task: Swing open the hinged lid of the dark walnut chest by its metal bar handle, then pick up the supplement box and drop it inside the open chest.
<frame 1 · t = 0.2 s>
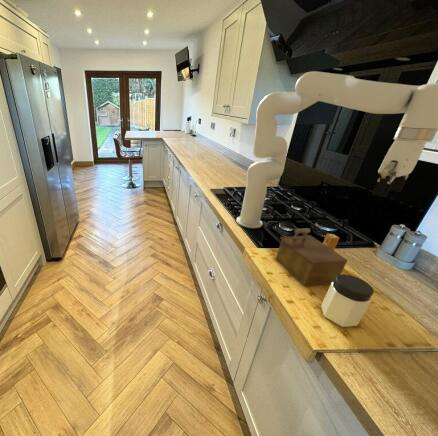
hand: (385, 193, 72), 31 cm above the worktop, tool pointing down, fingers open, 9 cm apart
jar: (337, 315, 69), on the worktop
lid: (313, 243, 83), point 11 cm above the worktop, hinge at 0.0°
chest: (304, 269, 87), on the worktop
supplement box: (323, 257, 95), on the worktop
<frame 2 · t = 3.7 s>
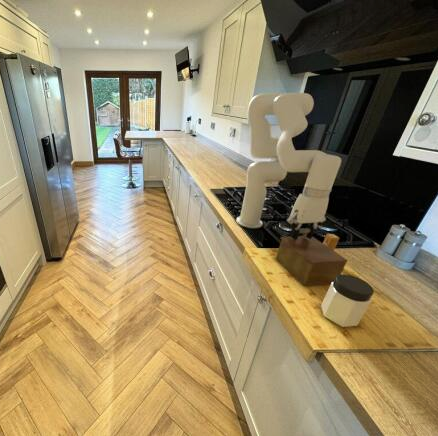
hand: (300, 236, 88), 11 cm above the worktop, tool pointing down, fingers closed on lid, 5 cm apart
lid: (313, 243, 83), point 11 cm above the worktop, hinge at 0.0°, touching gripper
everything else where it was.
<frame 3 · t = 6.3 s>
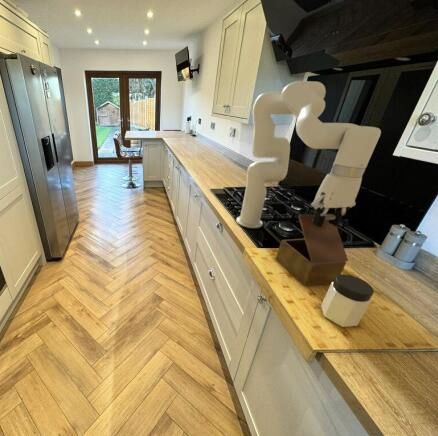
hand: (325, 224, 78), 20 cm above the worktop, tool pointing down, fingers closed on lid, 5 cm apart
lid: (327, 236, 77), point 17 cm above the worktop, hinge at 46.3°, touching gripper
everything else where it was.
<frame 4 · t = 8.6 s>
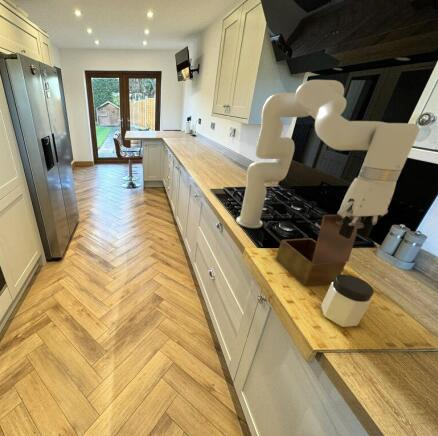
hand: (353, 235, 68), 21 cm above the worktop, tool pointing down, fingers closed on lid, 5 cm apart
lid: (342, 242, 72), point 18 cm above the worktop, hinge at 82.3°, touching gripper
everything else where it was.
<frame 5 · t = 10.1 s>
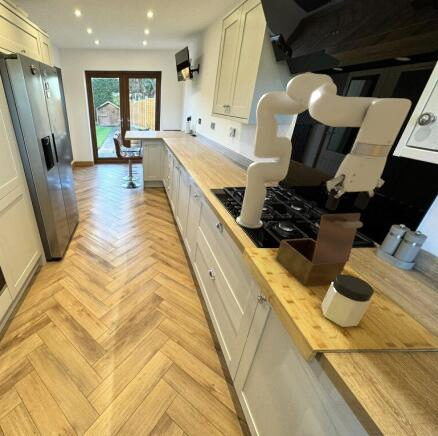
hand: (344, 208, 71), 28 cm above the worktop, tool pointing down, fingers open, 9 cm apart
lid: (342, 241, 72), point 18 cm above the worktop, hinge at 80.5°
everything else where it was.
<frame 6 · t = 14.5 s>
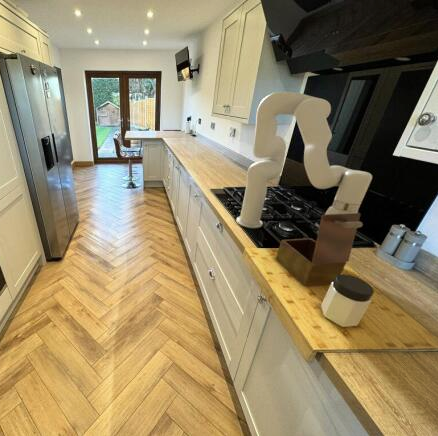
hand: (328, 247, 93), 5 cm above the worktop, tool pointing down, fingers closed on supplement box, 3 cm apart
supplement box: (323, 257, 95), on the worktop, touching gripper
everything else where it was.
when the fingers open (8 cm above the worktop, at t = 21.4 s): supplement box drops 3 cm, resting on chest.
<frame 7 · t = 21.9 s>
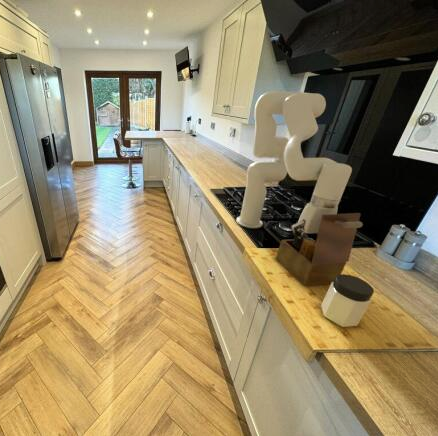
hand: (307, 245, 85), 9 cm above the worktop, tool pointing down, fingers open, 8 cm apart
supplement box: (301, 264, 89), point 1 cm above the worktop, touching chest
everything else where it was.
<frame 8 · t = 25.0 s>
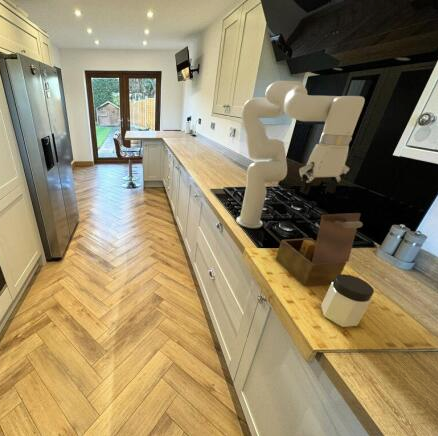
hand: (316, 192, 81), 28 cm above the worktop, tool pointing down, fingers open, 9 cm apart
nothing on the worktop moved.
at the end: lid at +80° (first picture: +0°); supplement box inside the target area in the chest (2.2 cm from its centre), point 0.6 cm above the chest's base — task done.
